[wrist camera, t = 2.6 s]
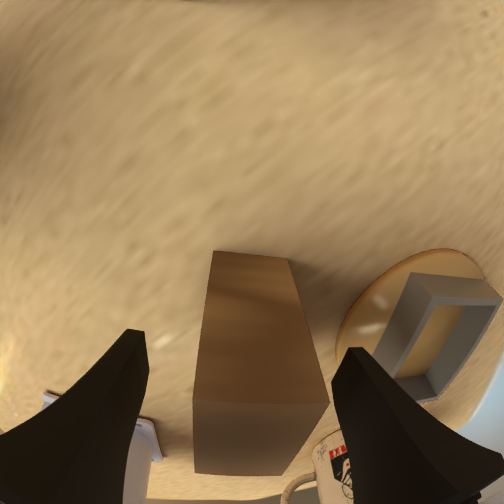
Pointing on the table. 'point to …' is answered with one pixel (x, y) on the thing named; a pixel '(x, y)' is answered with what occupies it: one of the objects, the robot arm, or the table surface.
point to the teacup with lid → (327, 472)
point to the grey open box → (422, 320)
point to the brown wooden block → (254, 370)
